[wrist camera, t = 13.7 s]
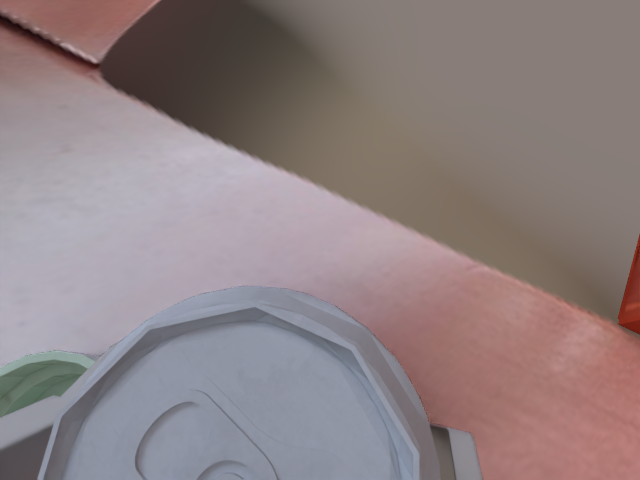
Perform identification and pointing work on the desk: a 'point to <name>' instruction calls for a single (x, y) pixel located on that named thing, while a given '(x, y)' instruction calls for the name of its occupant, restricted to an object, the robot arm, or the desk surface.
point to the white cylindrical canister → (245, 399)
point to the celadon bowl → (40, 377)
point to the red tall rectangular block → (632, 296)
